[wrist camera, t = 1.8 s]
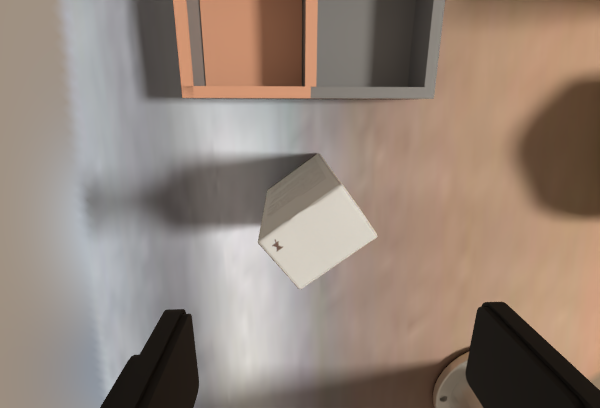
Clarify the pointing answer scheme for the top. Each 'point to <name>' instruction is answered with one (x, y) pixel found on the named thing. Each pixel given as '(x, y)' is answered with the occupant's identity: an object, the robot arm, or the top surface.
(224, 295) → the top surface
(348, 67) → the box
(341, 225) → the skincare box
